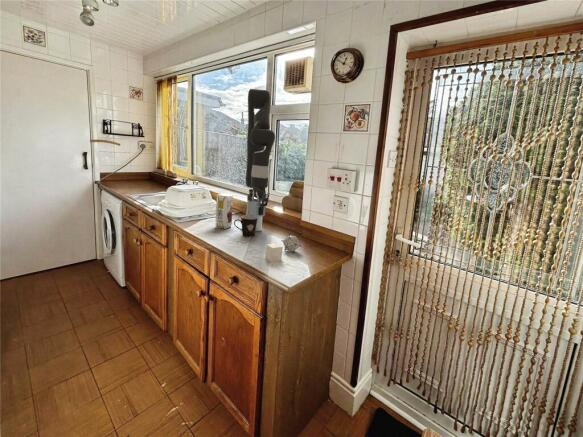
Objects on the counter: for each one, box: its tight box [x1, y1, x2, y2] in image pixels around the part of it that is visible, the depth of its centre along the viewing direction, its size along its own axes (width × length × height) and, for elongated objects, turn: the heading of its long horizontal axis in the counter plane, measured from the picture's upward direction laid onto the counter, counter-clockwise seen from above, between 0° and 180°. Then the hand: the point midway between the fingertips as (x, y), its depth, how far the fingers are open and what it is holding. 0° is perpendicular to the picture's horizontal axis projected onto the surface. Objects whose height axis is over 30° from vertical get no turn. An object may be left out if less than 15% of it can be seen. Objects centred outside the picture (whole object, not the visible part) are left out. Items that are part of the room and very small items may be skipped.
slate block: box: [250, 201, 267, 217], centre depth 135 cm, size 5×5×6 cm
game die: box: [280, 233, 302, 254], centre depth 139 cm, size 9×8×10 cm
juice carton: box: [215, 192, 234, 230], centre depth 170 cm, size 8×9×19 cm
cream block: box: [265, 243, 283, 263], centre depth 128 cm, size 5×5×6 cm
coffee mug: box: [233, 215, 258, 238], centre depth 159 cm, size 12×9×10 cm
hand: (257, 213), depth 135 cm, fingers closed on slate block, 5 cm apart
